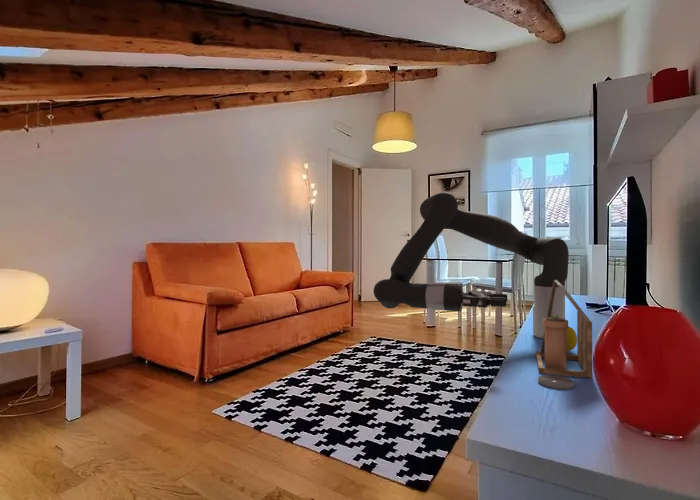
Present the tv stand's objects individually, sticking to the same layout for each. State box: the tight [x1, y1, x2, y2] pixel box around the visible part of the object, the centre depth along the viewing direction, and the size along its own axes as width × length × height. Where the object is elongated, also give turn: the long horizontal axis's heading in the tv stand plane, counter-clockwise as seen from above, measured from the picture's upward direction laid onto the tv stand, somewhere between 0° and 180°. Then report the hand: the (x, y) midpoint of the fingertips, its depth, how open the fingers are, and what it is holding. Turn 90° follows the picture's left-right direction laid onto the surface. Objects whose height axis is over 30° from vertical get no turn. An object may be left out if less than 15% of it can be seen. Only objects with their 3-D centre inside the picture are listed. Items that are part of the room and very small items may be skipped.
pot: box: [543, 314, 569, 370], centre depth 96 cm, size 6×6×14 cm
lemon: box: [566, 325, 577, 353], centre depth 110 cm, size 6×6×8 cm
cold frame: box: [535, 280, 593, 379], centre depth 97 cm, size 16×11×21 cm
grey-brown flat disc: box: [537, 374, 575, 390], centre depth 85 cm, size 7×7×1 cm
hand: (506, 300), depth 100 cm, fingers open, 8 cm apart
